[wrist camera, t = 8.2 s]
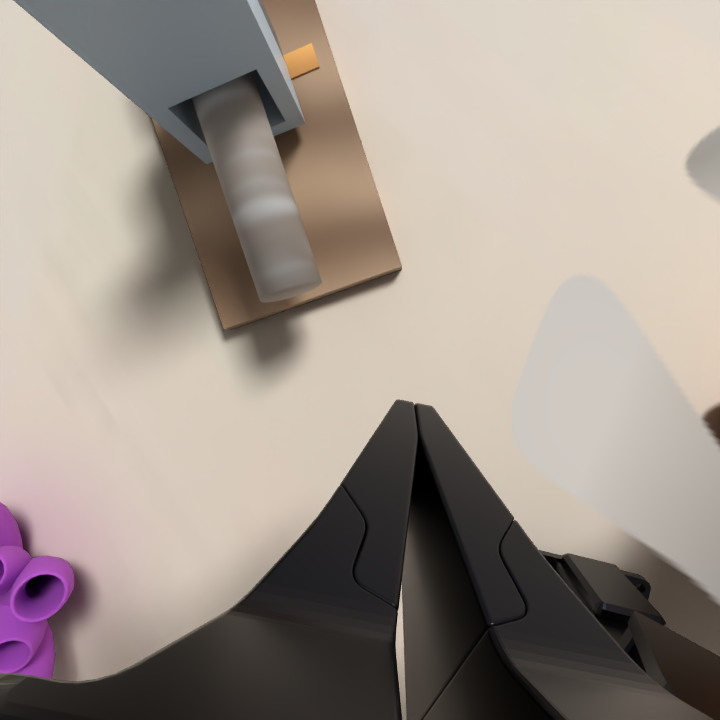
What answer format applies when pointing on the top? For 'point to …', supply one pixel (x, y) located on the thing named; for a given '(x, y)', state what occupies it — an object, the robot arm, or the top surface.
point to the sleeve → (175, 55)
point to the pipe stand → (281, 186)
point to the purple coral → (28, 602)
